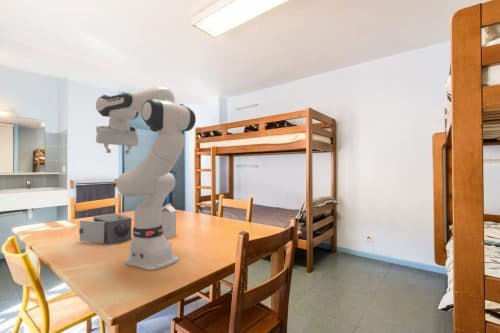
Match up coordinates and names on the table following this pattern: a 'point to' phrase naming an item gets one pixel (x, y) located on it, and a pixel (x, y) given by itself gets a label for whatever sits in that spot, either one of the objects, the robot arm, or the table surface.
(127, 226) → the housing
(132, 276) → the table surface
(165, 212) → the milk carton
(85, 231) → the door
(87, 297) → the table surface
